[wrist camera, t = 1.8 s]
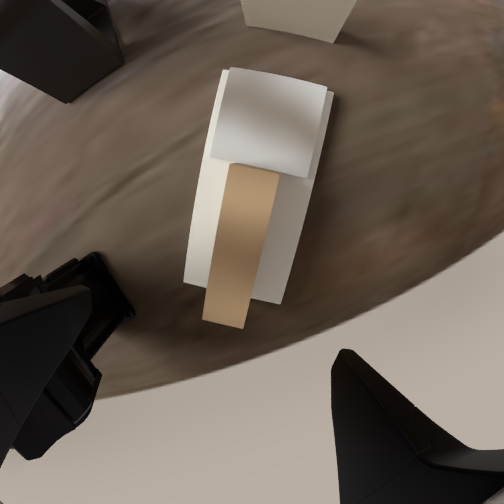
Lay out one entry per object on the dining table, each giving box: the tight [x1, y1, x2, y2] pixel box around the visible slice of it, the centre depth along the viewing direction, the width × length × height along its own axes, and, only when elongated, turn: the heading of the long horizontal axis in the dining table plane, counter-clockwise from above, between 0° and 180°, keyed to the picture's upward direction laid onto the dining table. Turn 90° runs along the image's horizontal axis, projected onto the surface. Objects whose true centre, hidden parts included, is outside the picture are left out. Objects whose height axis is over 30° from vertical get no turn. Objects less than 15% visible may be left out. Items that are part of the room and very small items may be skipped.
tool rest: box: [183, 70, 334, 304], centre depth 18 cm, size 15×7×1 cm, turn 168°
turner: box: [202, 67, 327, 329], centre depth 16 cm, size 15×6×4 cm, turn 168°
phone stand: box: [0, 0, 124, 104], centre depth 9 cm, size 9×6×12 cm, turn 20°
